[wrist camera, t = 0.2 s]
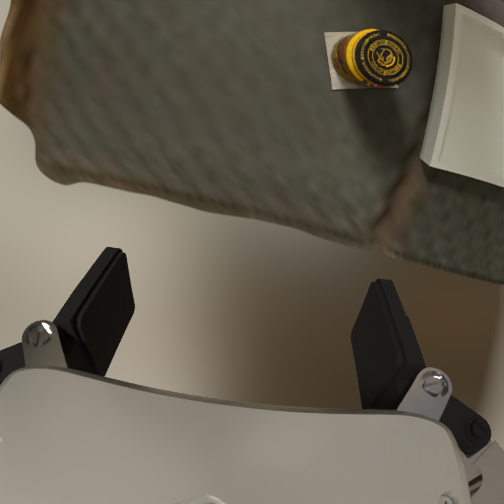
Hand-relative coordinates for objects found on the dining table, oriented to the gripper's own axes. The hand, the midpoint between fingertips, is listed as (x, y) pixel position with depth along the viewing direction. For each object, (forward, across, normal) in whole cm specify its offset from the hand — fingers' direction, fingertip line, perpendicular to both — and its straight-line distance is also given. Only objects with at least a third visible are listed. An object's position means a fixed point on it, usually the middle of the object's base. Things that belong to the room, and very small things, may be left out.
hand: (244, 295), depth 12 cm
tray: (+31, -29, -11) cm, 44 cm away
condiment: (+31, -10, -10) cm, 34 cm away
